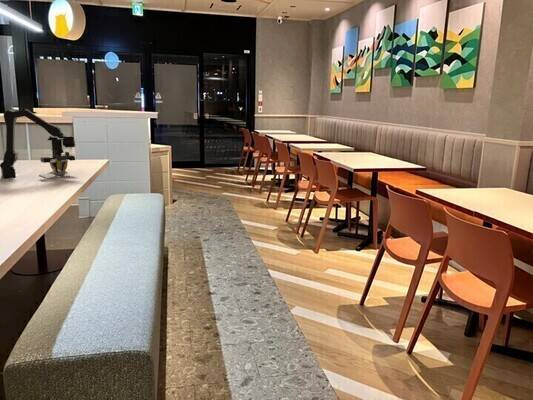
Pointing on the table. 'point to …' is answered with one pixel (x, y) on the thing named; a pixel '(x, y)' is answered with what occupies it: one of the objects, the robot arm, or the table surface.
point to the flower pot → (59, 165)
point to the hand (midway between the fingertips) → (59, 172)
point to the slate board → (53, 176)
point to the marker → (59, 172)
